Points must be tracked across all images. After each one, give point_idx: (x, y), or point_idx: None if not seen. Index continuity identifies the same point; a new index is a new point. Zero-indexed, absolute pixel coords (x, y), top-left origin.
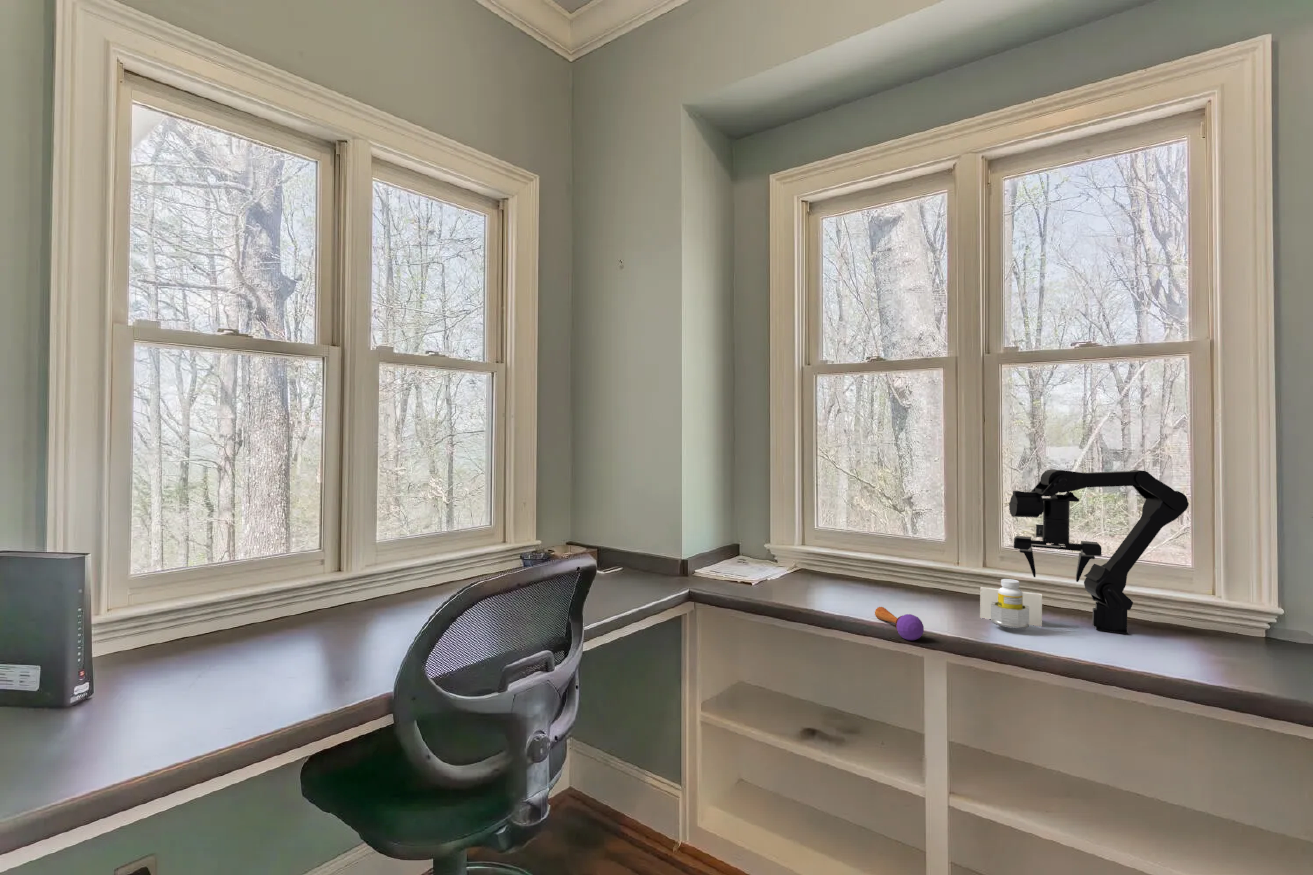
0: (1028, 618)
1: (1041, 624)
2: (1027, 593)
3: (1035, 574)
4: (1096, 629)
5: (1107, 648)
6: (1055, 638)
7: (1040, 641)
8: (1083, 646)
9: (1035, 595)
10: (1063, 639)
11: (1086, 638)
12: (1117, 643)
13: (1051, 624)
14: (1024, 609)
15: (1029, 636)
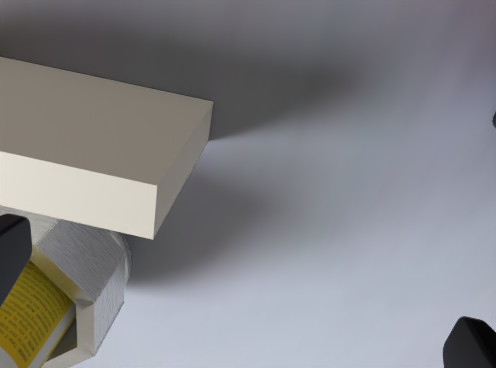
0: (111, 322)
1: (204, 144)
2: (56, 211)
3: (12, 286)
4: (493, 118)
5: (390, 361)
6: (231, 297)
7: (172, 340)
8: (307, 358)
9: (112, 225)
10: (259, 302)
11: (363, 267)
12: (472, 300)
13: (270, 69)
14: (74, 358)
15: (140, 298)
